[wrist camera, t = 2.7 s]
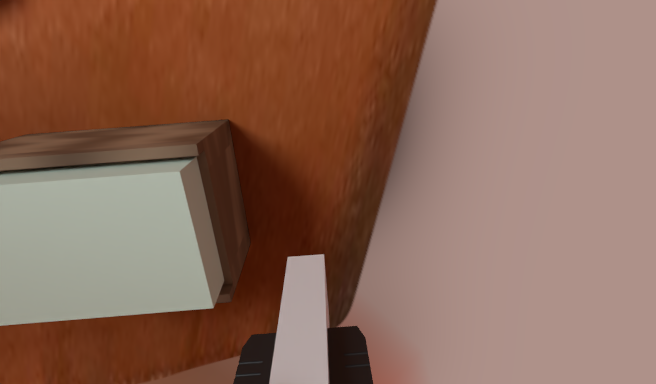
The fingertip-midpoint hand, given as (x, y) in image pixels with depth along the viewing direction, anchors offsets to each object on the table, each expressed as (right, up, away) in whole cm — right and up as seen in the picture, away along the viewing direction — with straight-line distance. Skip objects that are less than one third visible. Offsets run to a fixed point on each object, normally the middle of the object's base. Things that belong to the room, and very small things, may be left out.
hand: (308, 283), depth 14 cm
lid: (-13, +2, +6) cm, 14 cm away
